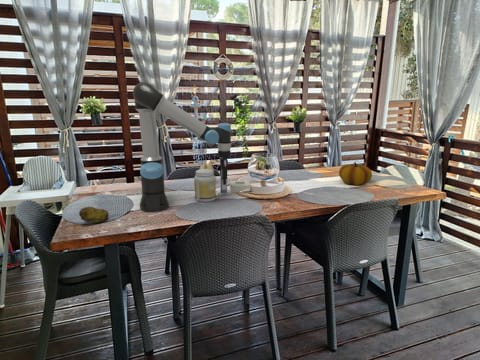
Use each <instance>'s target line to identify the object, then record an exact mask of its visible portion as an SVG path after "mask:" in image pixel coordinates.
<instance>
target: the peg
mask: <svg viewBox="0 0 480 360" xmlns="http://www.w3.org/2000/svg"><path fill="white" fill-rule="evenodd" d="M221 178H222V169H221V168H220V190H219V191H220V194H227V193H228V189H227V190H222V179H221Z"/></svg>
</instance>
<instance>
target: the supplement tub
mask: <svg viewBox="0 0 480 360" xmlns="http://www.w3.org/2000/svg"><path fill="white" fill-rule="evenodd" d="M199 169H200V168H199ZM199 169H197V170H195V175H194V177H193V179H194V183H193V184H194V199H195V200H196V201H197V202H201V203H209V202H212V201H215V200H216V198H217V191H216V190H217V188H216V187H217V186H216V182H217V181H216V180H217V179H216V175H214V174H215V170H211V169H200V170H199Z"/></svg>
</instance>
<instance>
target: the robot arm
mask: <svg viewBox="0 0 480 360" xmlns="http://www.w3.org/2000/svg"><path fill="white" fill-rule="evenodd" d="M132 96H133V100H134V106H135V107H134V108H135V110H136V111H137V112H138V118H139V126H140V129H139V130H140V138H141V139H140V140H141V147H142V148H141V149H142V157H141V158H140V164H141V166H140V171H139V173H140V181H141V198H140V202H139V209H140V210H141V211H142V212H149V213H152V212H154V213H155V212H161V211H164V210H167V209H169V207H170V204H169V200H168V198H167V195H166V192H165V191H166V190H165V176H164V175H165V172H164V171H165V169H164V165H163V158H162V156H161V155H160V153H159V152H160V151H159V140H158V138H159V137H158V129H157V118H156V112H158V113H160V114H161V115H163V116H165V117H166V118H168V119H169V120H170V121H172V122H174V123H175V124H177V125H179V126H181V127H182V128H183V129H186V131H188V132H190V133H192V135H195V136H196V137H197V138H196V139H197V140H198V141H202V142H203V141H204V142H205V143H207V144H209V145H212V146H213V145H215V144H217V150H218V151H217V158H220V170H221V169H222V178H221V177H220V180H221V179H222V190H227V191H228V163H229V161H228V159H227V158H231V156H232V155H231V153H232V151H231V147H232V142H231V140H232V127H231V126H232V125H231V124H230V123H227V122H224V123H223V122H222V123H221V122H220V123H218V124H217V126H208V125H207V124H205V123H204V122H202V121H201V120H199V119H198V118H196V117H195V116H193V115H191V114H190V113H188V112H187V111H185V110H184V109H182V108H180V107H179V106H178V105H176V104H175V103H173V102H171V101H170V100H168V99H167V98H166V97H165V95H164V94H163V93H161V92H160V91H159V90H157V89H156V87H155V86H154V85H153V84H151V83H149V82H145V81H144V82H138V83H137V84H136V85H135V86H134V88H133V90H132Z"/></svg>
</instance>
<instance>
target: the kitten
mask: <svg viewBox="0 0 480 360" xmlns="http://www.w3.org/2000/svg"><path fill="white" fill-rule="evenodd" d="M212 164H213V163H212V160H210V161H208V163H204V164H202V165H200V167H199V169H198V170H200V169H211V170H214V167H213V166H212ZM214 171H215V170H214Z"/></svg>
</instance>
